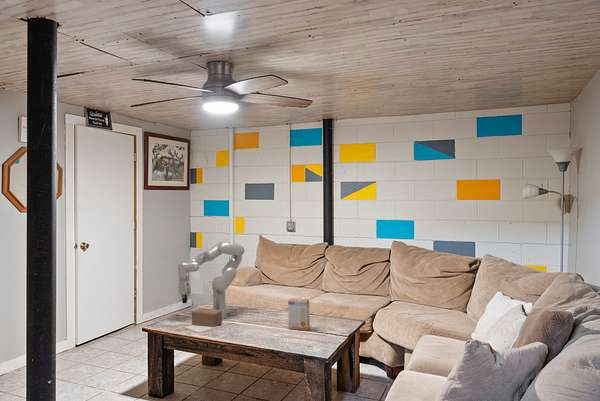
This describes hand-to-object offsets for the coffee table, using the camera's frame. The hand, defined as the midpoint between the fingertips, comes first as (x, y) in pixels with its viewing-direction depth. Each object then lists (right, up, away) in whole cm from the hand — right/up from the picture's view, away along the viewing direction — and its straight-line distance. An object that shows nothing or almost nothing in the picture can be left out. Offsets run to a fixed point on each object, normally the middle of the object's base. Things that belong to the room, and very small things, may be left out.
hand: (184, 303), depth 330 cm
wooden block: (+9, -9, -6) cm, 14 cm away
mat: (+16, -14, -15) cm, 26 cm away
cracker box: (+86, -14, -22) cm, 90 cm away
